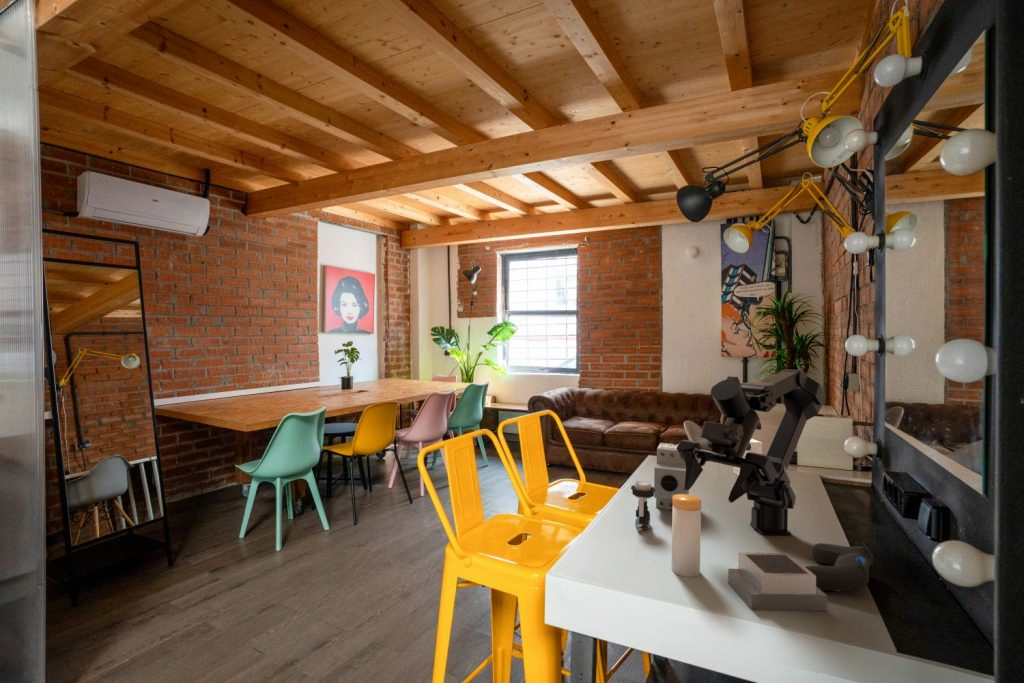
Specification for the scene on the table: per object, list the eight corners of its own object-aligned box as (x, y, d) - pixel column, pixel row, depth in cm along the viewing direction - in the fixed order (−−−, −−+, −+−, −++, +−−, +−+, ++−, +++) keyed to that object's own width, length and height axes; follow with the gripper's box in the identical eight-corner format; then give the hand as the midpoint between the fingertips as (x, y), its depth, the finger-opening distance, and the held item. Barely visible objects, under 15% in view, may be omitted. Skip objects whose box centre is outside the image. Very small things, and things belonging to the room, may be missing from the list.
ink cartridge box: (762, 480, 157) (763, 432, 157) (746, 480, 157) (747, 432, 157) (747, 472, 166) (748, 427, 166) (732, 473, 165) (733, 427, 165)
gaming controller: (812, 606, 88) (873, 593, 83) (793, 573, 90) (852, 557, 85) (826, 572, 101) (880, 558, 96) (809, 543, 103) (861, 528, 98)
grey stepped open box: (796, 583, 91) (796, 552, 91) (826, 611, 82) (827, 576, 82) (728, 582, 91) (728, 551, 91) (751, 609, 82) (751, 575, 82)
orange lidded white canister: (694, 564, 98) (695, 494, 98) (704, 577, 93) (705, 502, 93) (668, 564, 98) (669, 494, 98) (676, 576, 93) (677, 502, 93)
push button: (650, 535, 112) (651, 489, 112) (626, 530, 115) (627, 486, 115) (656, 525, 118) (657, 482, 118) (633, 521, 121) (634, 479, 121)
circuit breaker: (653, 515, 125) (654, 453, 125) (659, 498, 139) (660, 442, 138) (685, 519, 122) (686, 456, 122) (688, 501, 136) (689, 445, 136)
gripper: (682, 401, 110) (649, 460, 103) (770, 412, 96) (739, 481, 89) (701, 434, 115) (671, 492, 108) (788, 449, 101) (760, 517, 94)
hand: (707, 495), depth 100 cm, fingers open, 9 cm apart
